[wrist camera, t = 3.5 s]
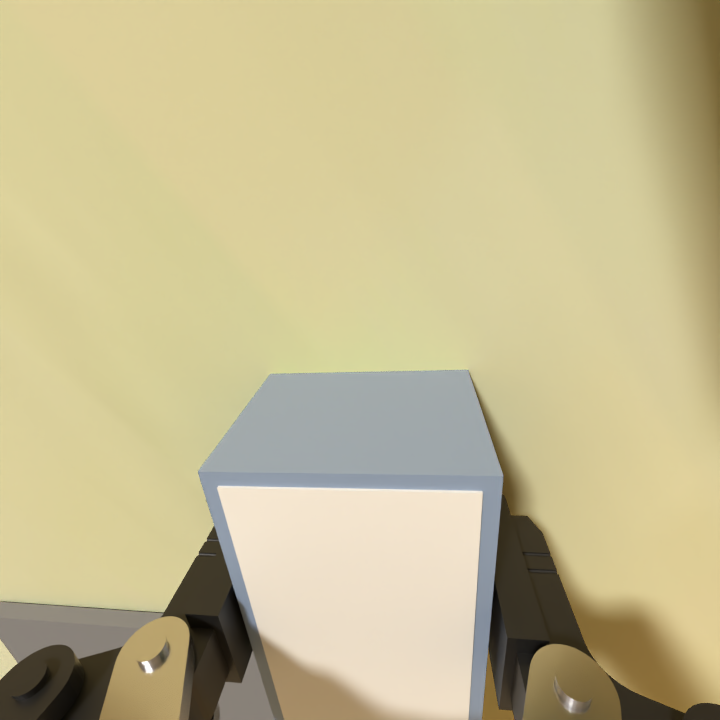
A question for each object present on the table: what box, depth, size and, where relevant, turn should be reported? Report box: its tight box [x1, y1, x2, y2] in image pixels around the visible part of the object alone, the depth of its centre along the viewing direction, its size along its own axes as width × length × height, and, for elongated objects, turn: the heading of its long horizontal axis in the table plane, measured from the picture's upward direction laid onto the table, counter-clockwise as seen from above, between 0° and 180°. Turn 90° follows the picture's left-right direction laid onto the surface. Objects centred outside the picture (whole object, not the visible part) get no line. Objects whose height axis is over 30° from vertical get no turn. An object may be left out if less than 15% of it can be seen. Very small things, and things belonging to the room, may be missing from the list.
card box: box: [198, 370, 503, 720], centre depth 10 cm, size 5×8×4 cm, turn 4°
